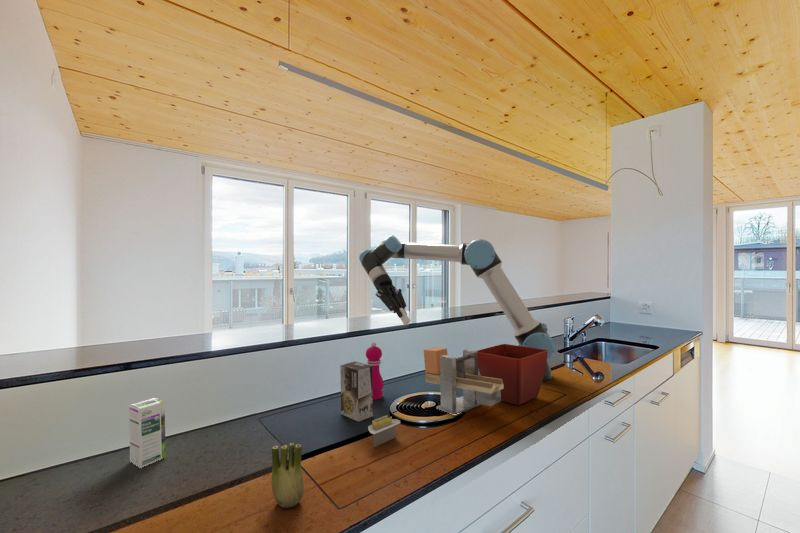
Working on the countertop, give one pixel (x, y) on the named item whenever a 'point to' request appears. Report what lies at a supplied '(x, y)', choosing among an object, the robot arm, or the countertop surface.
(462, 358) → the beam
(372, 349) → the pepper mill
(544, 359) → the plant pot
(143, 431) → the syrup box
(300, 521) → the countertop surface
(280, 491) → the fennel bulb
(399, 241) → the robot arm
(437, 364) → the rider
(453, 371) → the pivot stand
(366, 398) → the coffee box
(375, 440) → the platform
